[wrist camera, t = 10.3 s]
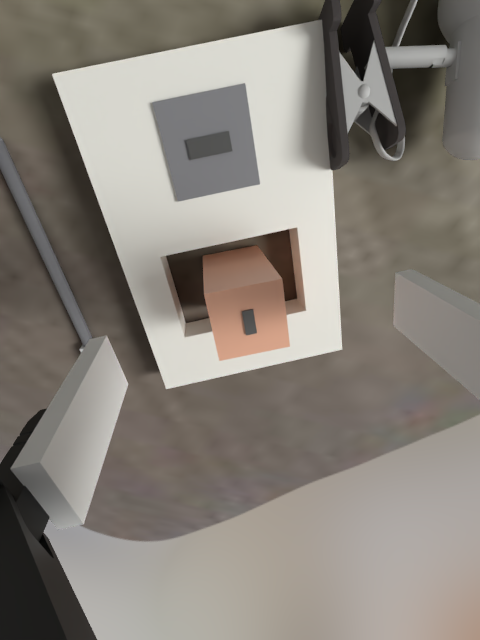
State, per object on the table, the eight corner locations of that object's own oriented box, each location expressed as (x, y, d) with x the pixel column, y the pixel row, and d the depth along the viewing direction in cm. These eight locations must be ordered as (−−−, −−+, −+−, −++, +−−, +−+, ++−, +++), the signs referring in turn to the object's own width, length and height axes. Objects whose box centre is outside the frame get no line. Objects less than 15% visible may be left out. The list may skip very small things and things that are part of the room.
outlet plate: (69, 85, 18) (48, 71, 16) (309, 36, 18) (326, 16, 16) (169, 371, 27) (166, 391, 24) (330, 335, 27) (343, 351, 25)
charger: (202, 255, 23) (203, 294, 16) (256, 245, 23) (282, 279, 16) (213, 305, 25) (219, 362, 18) (264, 295, 25) (290, 347, 18)
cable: (-14, 137, 19) (-24, 135, 18) (6, 133, 19) (-3, 131, 18) (93, 364, 26) (89, 371, 25) (107, 361, 26) (104, 367, 25)
